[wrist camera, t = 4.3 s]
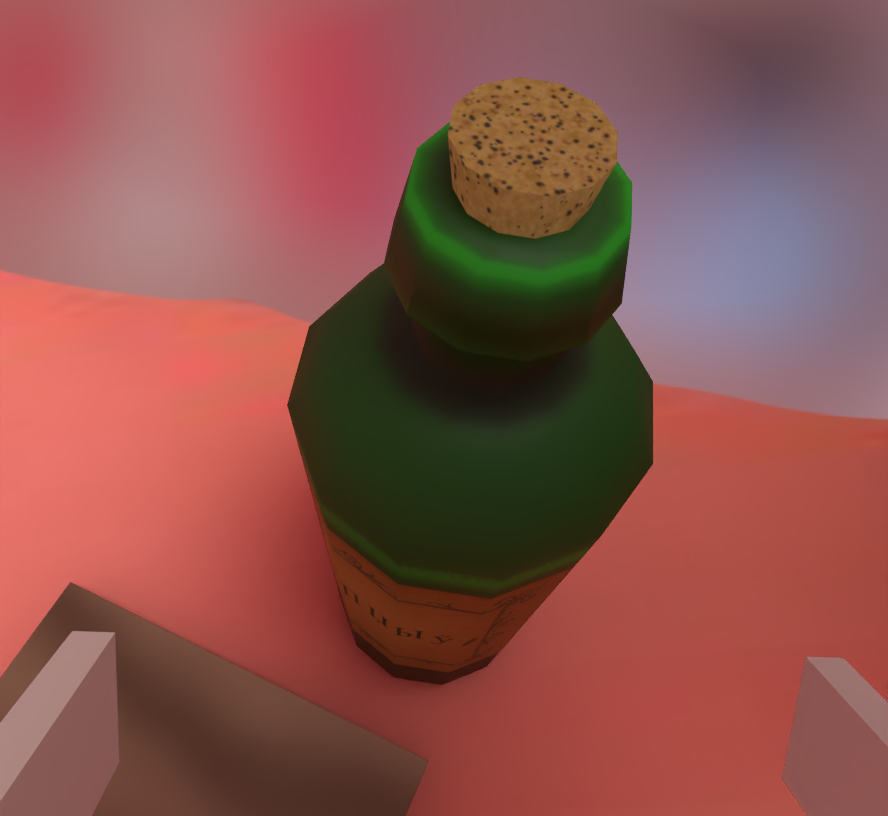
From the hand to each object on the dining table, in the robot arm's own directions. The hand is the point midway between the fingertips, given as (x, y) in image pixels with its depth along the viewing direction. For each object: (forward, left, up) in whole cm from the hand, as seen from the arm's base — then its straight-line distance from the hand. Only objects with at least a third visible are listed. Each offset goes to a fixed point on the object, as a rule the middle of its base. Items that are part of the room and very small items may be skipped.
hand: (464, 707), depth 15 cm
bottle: (-9, -3, -22) cm, 24 cm away
